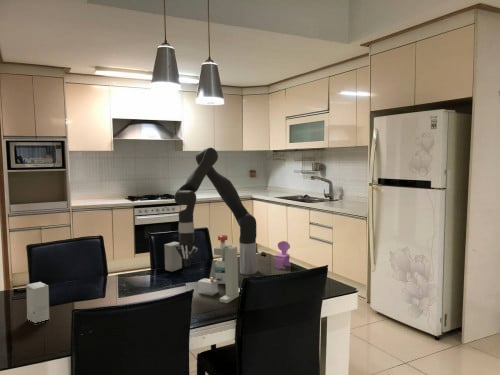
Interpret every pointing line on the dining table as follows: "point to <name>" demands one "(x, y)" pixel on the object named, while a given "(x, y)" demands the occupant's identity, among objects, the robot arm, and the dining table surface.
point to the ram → (222, 261)
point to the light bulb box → (220, 274)
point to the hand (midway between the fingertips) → (187, 265)
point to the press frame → (229, 272)
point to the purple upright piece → (282, 255)
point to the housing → (208, 286)
